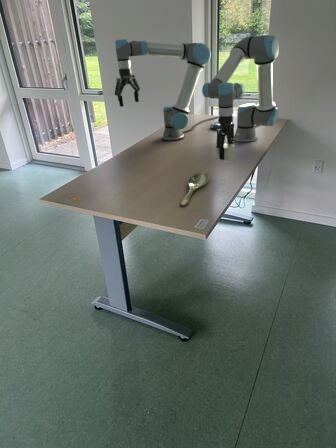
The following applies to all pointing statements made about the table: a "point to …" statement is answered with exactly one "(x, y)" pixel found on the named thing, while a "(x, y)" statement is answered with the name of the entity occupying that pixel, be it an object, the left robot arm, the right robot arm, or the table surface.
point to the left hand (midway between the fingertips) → (129, 104)
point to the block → (227, 152)
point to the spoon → (195, 184)
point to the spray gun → (216, 124)
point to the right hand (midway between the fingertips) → (225, 157)
